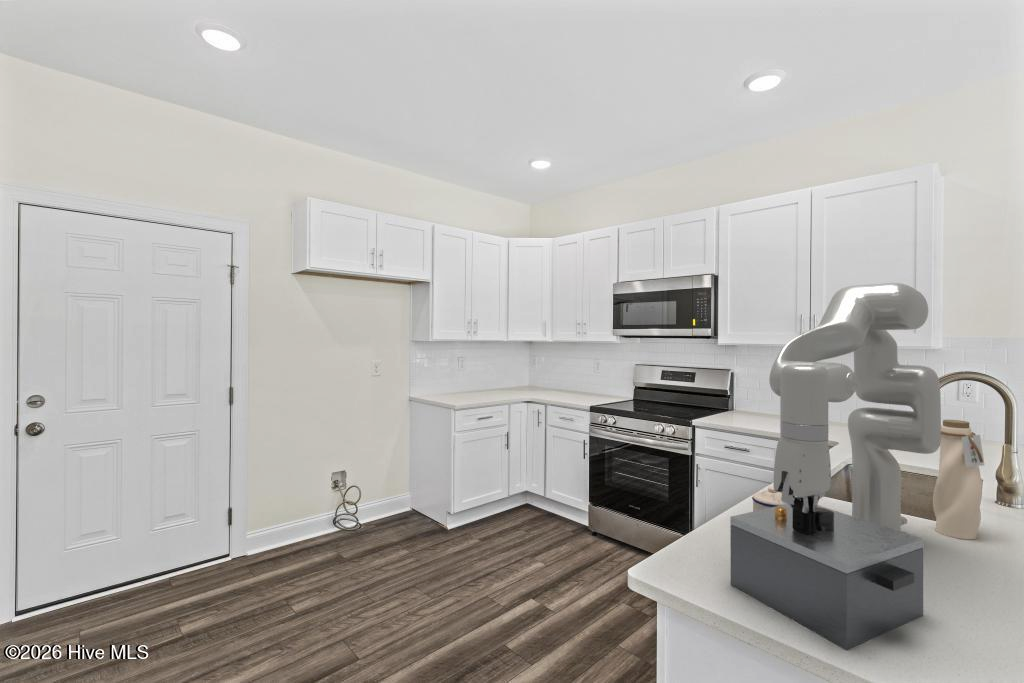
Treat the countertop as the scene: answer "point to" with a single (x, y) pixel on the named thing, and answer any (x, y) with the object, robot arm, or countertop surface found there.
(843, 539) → the cooker lid
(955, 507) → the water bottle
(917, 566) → the grey lidded box
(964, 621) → the countertop surface
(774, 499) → the teacup with lid
